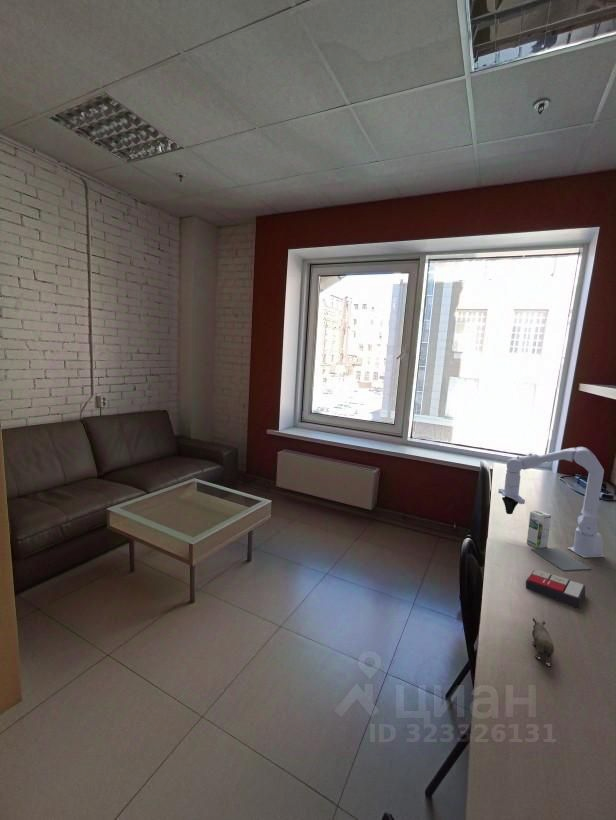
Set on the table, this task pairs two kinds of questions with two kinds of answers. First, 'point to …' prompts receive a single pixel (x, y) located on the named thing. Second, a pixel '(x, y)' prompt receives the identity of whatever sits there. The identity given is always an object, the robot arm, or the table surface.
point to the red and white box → (556, 588)
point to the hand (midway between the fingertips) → (509, 513)
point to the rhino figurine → (542, 640)
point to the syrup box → (538, 529)
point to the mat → (561, 559)
